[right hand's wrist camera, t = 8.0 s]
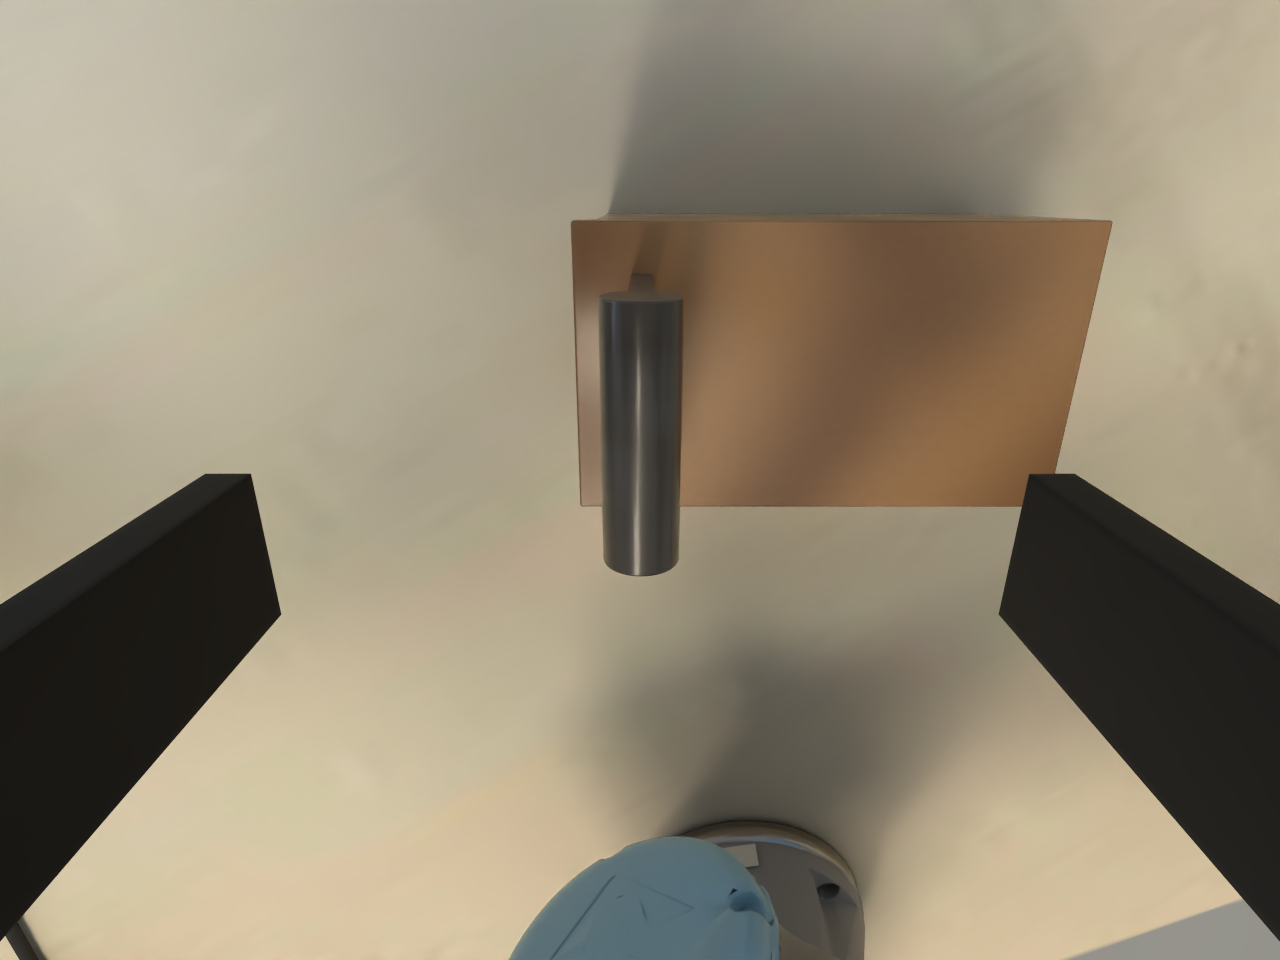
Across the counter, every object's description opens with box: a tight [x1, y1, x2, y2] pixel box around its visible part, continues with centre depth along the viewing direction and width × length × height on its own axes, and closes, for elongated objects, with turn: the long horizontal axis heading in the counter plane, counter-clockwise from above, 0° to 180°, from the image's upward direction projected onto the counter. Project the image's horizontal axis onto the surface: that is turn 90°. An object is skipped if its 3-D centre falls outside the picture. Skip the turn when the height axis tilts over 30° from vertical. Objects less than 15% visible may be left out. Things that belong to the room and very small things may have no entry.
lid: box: [571, 220, 1112, 576], centre depth 21 cm, size 17×10×9 cm, turn 90°
